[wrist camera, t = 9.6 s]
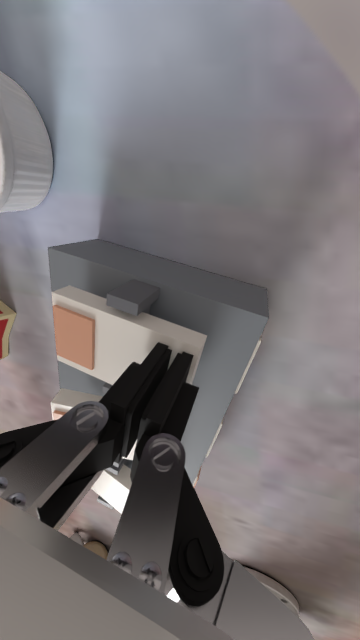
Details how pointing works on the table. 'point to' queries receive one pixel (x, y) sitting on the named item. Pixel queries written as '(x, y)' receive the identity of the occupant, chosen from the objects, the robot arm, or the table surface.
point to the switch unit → (176, 307)
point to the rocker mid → (72, 398)
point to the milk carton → (5, 328)
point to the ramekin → (22, 150)
